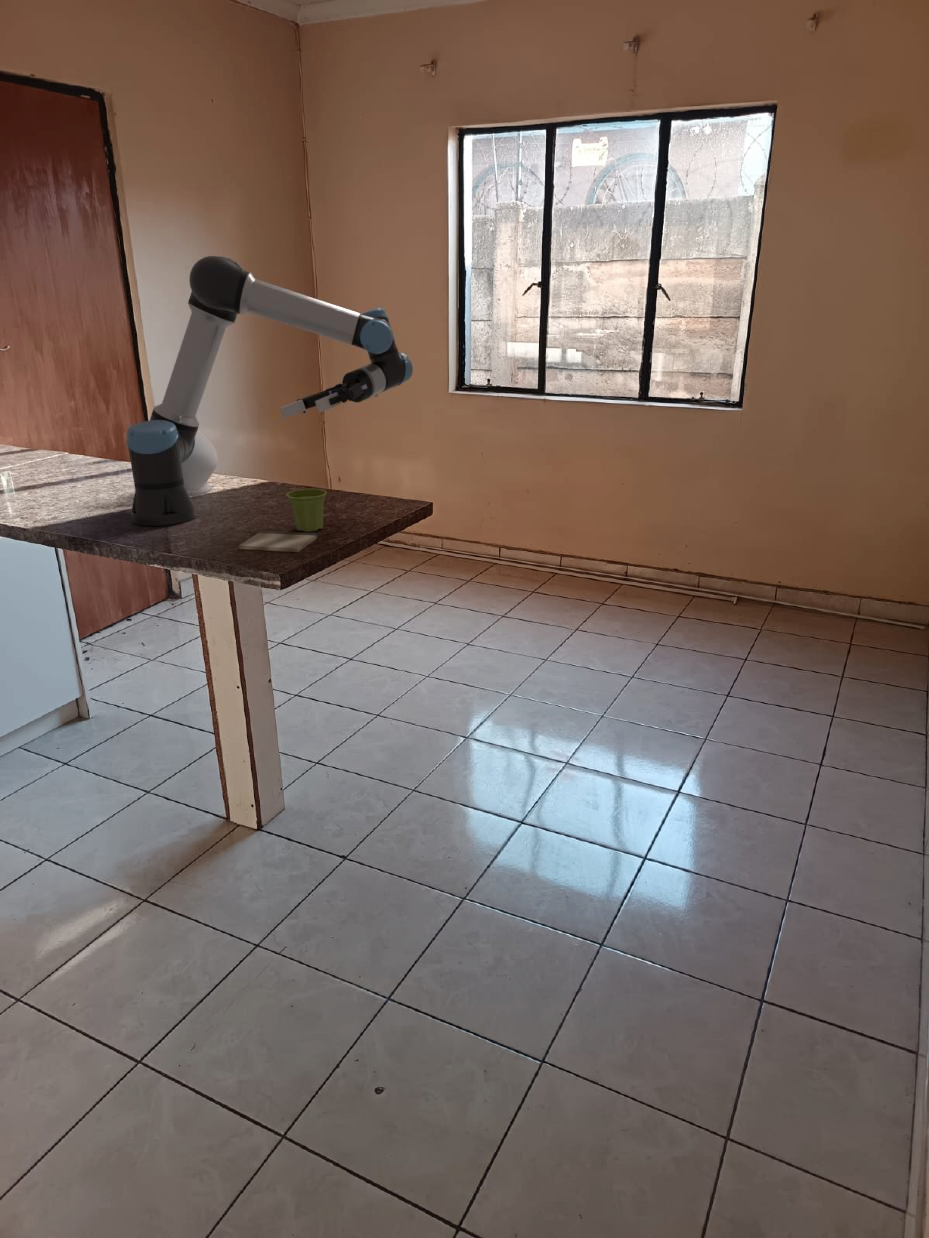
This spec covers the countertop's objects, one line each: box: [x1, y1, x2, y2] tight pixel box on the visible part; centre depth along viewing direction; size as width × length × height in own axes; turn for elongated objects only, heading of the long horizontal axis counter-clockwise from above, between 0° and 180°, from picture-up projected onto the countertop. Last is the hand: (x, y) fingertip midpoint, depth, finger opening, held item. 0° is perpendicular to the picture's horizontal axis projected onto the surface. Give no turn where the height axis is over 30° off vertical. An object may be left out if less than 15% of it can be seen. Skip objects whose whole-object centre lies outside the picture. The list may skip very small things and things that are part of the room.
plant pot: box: [285, 488, 328, 533], centre depth 204 cm, size 9×9×9 cm
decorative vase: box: [181, 413, 219, 497], centre depth 242 cm, size 18×18×25 cm
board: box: [238, 530, 320, 553], centre depth 194 cm, size 14×12×1 cm
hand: (299, 410), depth 203 cm, fingers open, 13 cm apart
